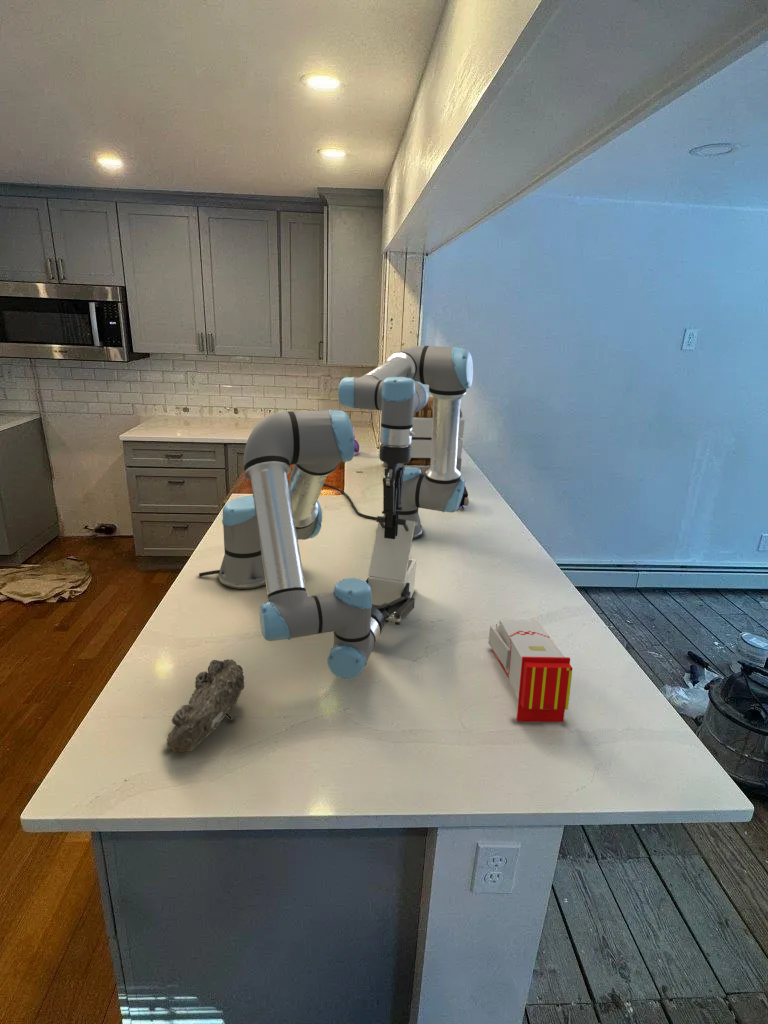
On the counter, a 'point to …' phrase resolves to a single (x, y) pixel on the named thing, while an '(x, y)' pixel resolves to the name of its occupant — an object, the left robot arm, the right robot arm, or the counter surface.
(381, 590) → the chest
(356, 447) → the figurine
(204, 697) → the fossil
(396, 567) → the lid
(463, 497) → the figurine character
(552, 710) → the toy
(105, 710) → the counter surface
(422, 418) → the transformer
